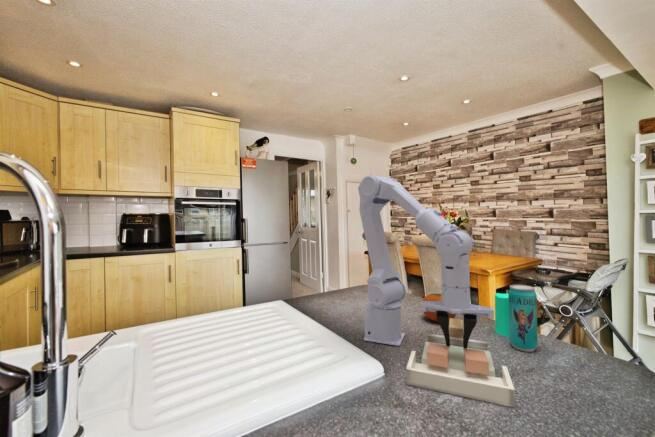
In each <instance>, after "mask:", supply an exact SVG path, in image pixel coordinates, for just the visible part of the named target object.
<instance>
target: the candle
mask: <svg viewBox="0 0 655 437" xmlns="http://www.w3.org/2000/svg"><path fill="white" fill-rule="evenodd" d="M494 320H495V321H494V322H495V323H494V326H495V334H498V335H499V336H503V337H506V338H509V294H508V293H499V292H497V293H495V294H494Z"/></svg>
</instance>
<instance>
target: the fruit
mask: <svg viewBox="0 0 655 437" xmlns="http://www.w3.org/2000/svg"><path fill="white" fill-rule="evenodd" d="M422 301H442V293H435V292H434V293H430V294H428V295H426V296H424V297H423V299H422ZM422 313H423V314H424V315H425V317H427V318H428V319H429V320H431V321H434V322H436V323H439V322H438V320H437V318H436V312H431V311H426V312H423V311H422ZM456 315H457V314H450V313H449V321H450V318H453V319H455V318H456Z"/></svg>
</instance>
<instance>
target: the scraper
mask: <svg viewBox="0 0 655 437" xmlns="http://www.w3.org/2000/svg"><path fill="white" fill-rule="evenodd" d="M449 335H450V345H453V346H459V347H463V335H464V319H462V318H460V319H459V318H450V321H449ZM427 342H433V343H439V344H446V341H445V337H444V335H441V334H433V333H428V334H427ZM467 348H472V349H479V350H486V351H488V342H487V341H484V340H477V339H470V338H469V341H468V345H467Z"/></svg>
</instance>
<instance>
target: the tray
mask: <svg viewBox="0 0 655 437" xmlns="http://www.w3.org/2000/svg"><path fill="white" fill-rule="evenodd" d="M416 351H417V350H411V353H410V356H409V359H408V361H407V364H406V368H405V384H406V386H407V385H408V386H412V387H415V388H416V387H417V388H421V389H427V390H430V391H435V392H439V393H440V392H441V393H445V394H449V395H455V396H458V397H463V398H467V399H468V398H469V399H473V400H477V401H482V402H486V403H492V404H496V405H500V406H505V407H508V408H509V407H510V408H513V409H515V408H516V392H515V391H516V390H515V387H514V384H513V382H512V378H511V376H510V375H511V374H510V373H509V370H508V366H507V365H501V377H497V376H495V377H493V376H487V375H482V374H476V373H471V372H465V371H460V370H454V369H449V368H443V367H438V366H432V365H427V364H422V362H421V363H420V362H417V354H416V353H417V352H416Z"/></svg>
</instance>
